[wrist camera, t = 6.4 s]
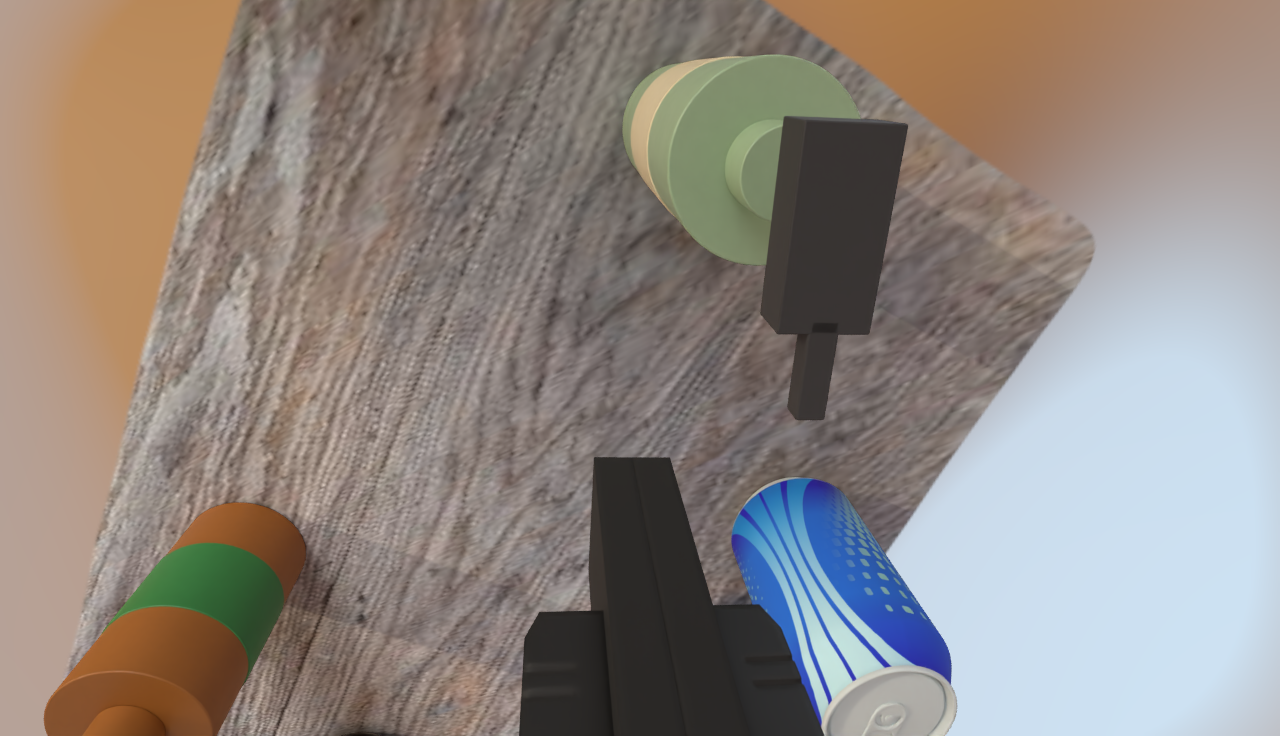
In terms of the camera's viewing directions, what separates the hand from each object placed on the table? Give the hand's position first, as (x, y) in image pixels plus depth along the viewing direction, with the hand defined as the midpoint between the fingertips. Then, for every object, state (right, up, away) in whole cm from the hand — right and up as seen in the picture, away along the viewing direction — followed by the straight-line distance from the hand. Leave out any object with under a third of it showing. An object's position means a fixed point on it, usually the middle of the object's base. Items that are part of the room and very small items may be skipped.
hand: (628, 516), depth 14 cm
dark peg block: (+5, +6, +5) cm, 9 cm away
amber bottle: (-24, -8, +29) cm, 39 cm away
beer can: (+10, -7, +33) cm, 36 cm away
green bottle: (+3, +16, +22) cm, 27 cm away
